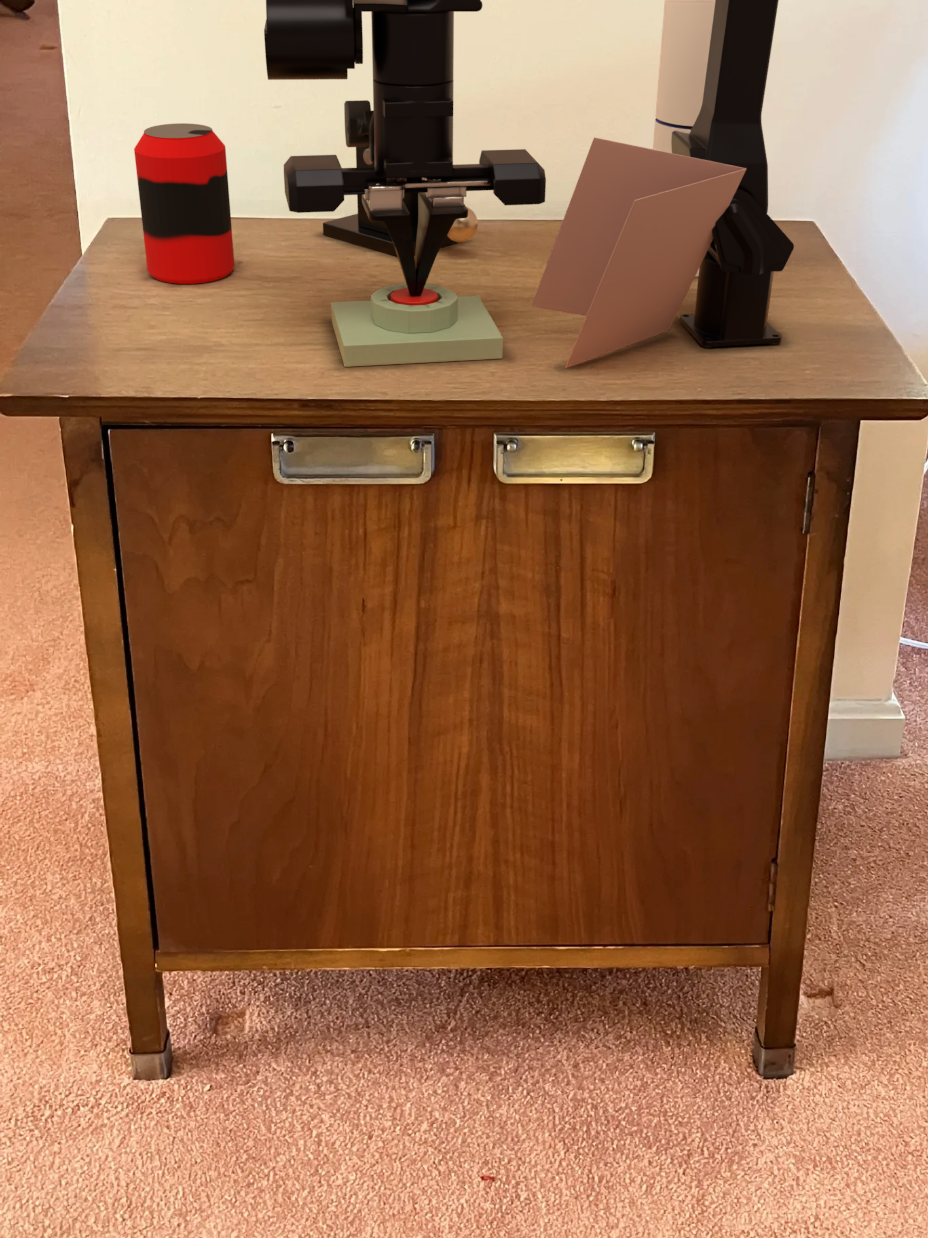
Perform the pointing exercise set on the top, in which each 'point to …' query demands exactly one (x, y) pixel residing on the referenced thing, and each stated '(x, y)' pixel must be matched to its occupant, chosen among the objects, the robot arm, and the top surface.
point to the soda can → (184, 203)
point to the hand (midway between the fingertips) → (414, 294)
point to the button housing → (415, 329)
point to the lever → (463, 227)
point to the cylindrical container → (682, 68)
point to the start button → (414, 297)
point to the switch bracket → (369, 231)
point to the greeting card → (632, 242)
